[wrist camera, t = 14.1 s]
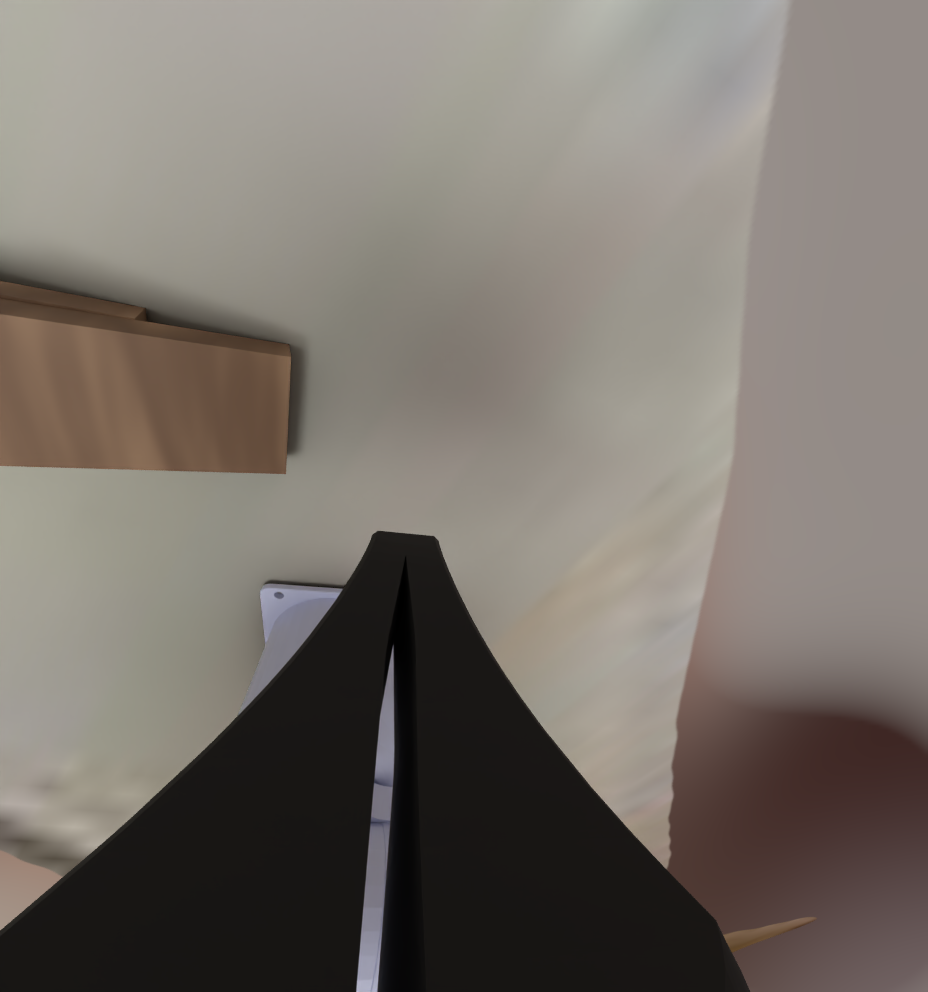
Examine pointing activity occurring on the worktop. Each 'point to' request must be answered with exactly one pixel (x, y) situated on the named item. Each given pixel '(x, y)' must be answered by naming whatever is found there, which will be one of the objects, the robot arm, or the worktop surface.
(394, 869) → the robot arm
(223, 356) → the brown wooden block
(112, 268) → the worktop surface
